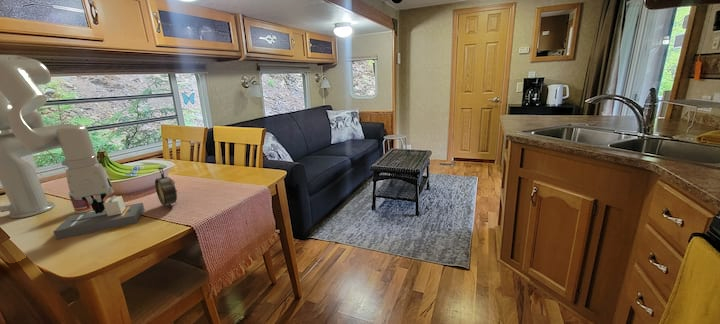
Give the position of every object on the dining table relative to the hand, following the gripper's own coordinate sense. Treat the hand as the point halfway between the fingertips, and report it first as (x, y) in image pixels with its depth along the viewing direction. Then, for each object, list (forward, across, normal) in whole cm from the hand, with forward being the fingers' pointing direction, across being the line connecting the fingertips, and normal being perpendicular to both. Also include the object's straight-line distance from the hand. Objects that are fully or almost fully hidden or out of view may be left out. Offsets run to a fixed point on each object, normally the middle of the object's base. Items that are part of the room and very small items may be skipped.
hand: (100, 211), depth 104 cm
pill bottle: (+5, -11, +18) cm, 22 cm away
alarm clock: (+5, +20, +5) cm, 21 cm away
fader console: (+5, 0, 0) cm, 5 cm away
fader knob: (+1, +4, 0) cm, 5 cm away
